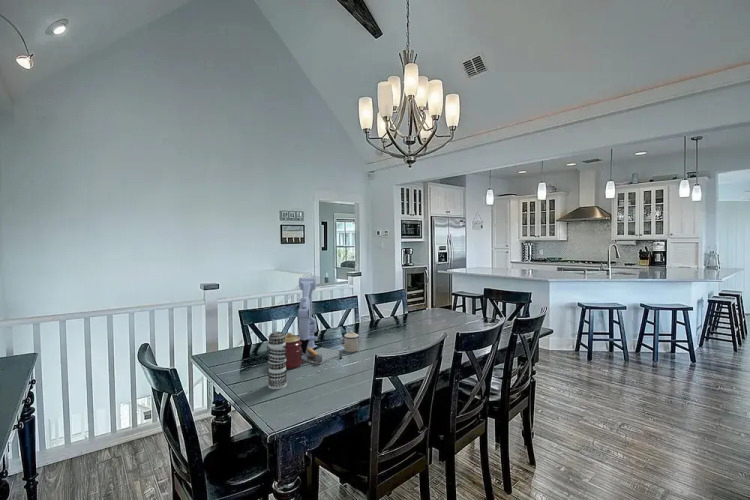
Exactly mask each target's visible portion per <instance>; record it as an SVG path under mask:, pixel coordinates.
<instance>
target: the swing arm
mask: <svg viewBox="0 0 750 500" xmlns="http://www.w3.org/2000/svg"><path fill="white" fill-rule="evenodd" d="M315 350H316V349H315ZM315 350H314V348H311V347H309V346H308V347H307V349H306V352H307V351H309V352H310V353H311V354H313V355H314V356H315V357H316V362H322V354H319V353H317V352H316V351H315Z"/></svg>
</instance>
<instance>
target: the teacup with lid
mask: <svg viewBox="0 0 750 500" xmlns="http://www.w3.org/2000/svg"><path fill="white" fill-rule="evenodd" d="M359 336H360V335H359V334H357V333H355V332H354V331H353V330H350V331H349V332H348V333H345V334H344V336H343V337H340V338H339V341H338V343H339V344H340V346H341V347H344V351H345V352H346V353H355V352H358V351H359ZM342 340H343V343H344V344H342Z"/></svg>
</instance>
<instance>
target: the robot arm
mask: <svg viewBox="0 0 750 500" xmlns="http://www.w3.org/2000/svg"><path fill="white" fill-rule="evenodd" d="M316 284H317V281H316V277H314V276H312V277H301V276H300V277H299V279H298V287H299V288H300V289H299V290H300V291H302V297H301V298H300V300H299V308H298V310H297V318H298V330H299V331H298V335H297V336H298V337H300V341H301V342H302V344H301V348H302V354H303V355H304V354H306V352H307V350H306V349H307V347H308V346H309V347H311V348H312V349H315V348H317V347H318V345H315V342H316V341H318V336H315V333H317V320H316V318H314V317H313V316H312V314H313V313H312V312H313V311H312V308H313V307H312V305H313V304H312V303H313V302H312V301H313V298H312V297H313V291H315V290H316V289H317V288H316V287H317V285H316Z"/></svg>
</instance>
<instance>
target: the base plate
mask: <svg viewBox="0 0 750 500" xmlns="http://www.w3.org/2000/svg"><path fill="white" fill-rule="evenodd" d="M315 351H316V352H317V353H319V354H322V362H316V357H315V356H314V355H313V354H311V353H310V352H309V351H307V350H306V354H303V355H302V362H307V363H310V364H316V365H321V364H323V363H326V362H327V361H330V360H332V359H334V358H336V357H338V358H339V360H340V359H341V360H342V359H343V349H340V350H336V349H331V348H327V347H326V348H325V347H319V348H317V349H315Z"/></svg>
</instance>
